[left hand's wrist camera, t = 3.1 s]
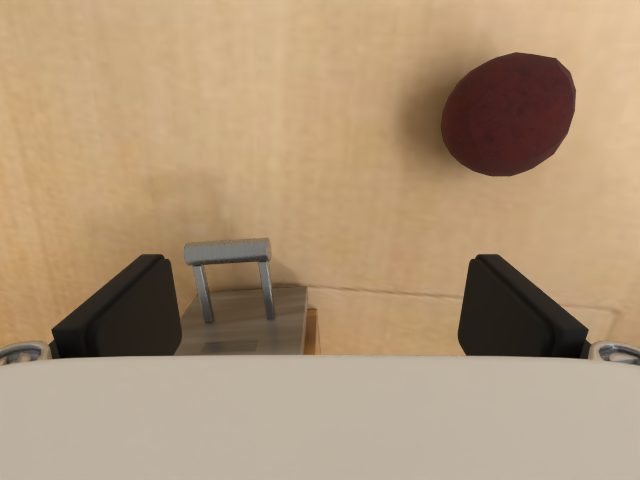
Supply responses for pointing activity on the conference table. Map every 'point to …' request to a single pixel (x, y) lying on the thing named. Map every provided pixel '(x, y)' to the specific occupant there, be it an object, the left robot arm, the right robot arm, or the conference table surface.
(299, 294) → the drawer
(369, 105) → the conference table surface
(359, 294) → the conference table surface
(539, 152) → the potato
